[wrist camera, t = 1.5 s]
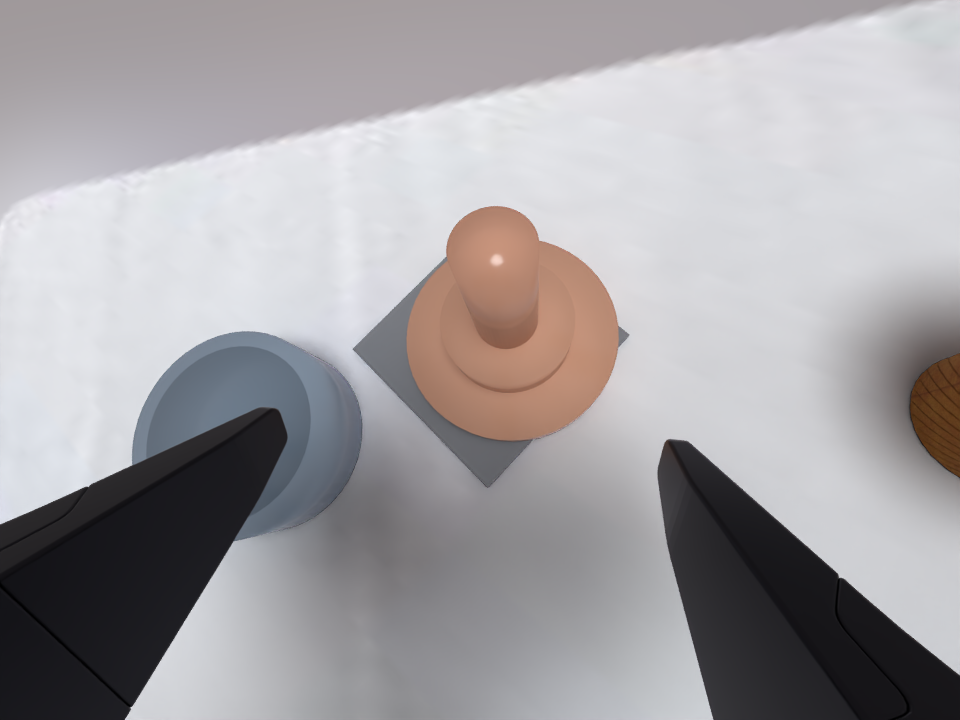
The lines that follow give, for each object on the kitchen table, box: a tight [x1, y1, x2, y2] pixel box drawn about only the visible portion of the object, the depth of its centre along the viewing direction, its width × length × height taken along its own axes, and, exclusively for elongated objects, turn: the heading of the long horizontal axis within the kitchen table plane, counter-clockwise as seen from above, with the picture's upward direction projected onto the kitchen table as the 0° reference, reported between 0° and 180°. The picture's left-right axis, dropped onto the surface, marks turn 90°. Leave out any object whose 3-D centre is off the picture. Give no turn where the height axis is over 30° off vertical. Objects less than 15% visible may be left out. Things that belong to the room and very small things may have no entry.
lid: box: [406, 206, 619, 442], centre depth 18 cm, size 11×11×10 cm
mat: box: [353, 257, 629, 488], centre depth 23 cm, size 11×11×1 cm
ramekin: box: [132, 331, 362, 541], centre depth 21 cm, size 10×10×4 cm
